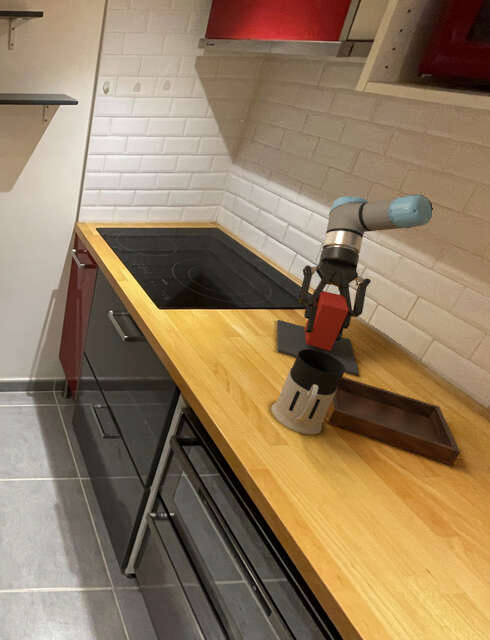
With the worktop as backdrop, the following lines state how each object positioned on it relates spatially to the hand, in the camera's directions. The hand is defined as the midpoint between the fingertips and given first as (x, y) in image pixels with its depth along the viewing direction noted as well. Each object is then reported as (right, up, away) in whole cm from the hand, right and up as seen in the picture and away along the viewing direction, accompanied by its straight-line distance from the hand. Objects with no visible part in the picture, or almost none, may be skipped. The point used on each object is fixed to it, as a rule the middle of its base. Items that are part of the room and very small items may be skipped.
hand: (323, 335), depth 111 cm
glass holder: (-21, -15, -19) cm, 32 cm away
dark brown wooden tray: (-2, -14, -17) cm, 23 cm away
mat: (+2, -4, +5) cm, 7 cm away
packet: (+2, -2, +4) cm, 5 cm away
